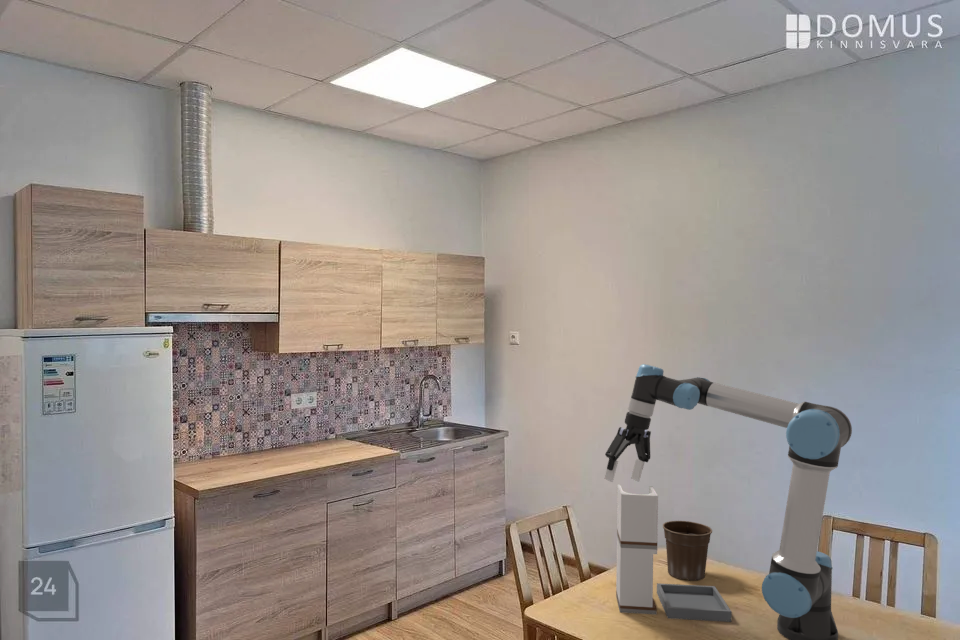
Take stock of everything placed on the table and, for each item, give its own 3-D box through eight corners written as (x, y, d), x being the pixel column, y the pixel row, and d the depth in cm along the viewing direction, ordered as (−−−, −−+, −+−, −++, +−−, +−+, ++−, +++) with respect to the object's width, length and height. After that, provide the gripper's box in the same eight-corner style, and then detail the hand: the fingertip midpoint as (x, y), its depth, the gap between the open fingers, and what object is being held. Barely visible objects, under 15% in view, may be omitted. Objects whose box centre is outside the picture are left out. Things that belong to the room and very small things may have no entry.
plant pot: (681, 562, 234) (682, 517, 234) (721, 576, 221) (722, 529, 221) (652, 571, 225) (652, 525, 225) (691, 587, 212) (692, 538, 212)
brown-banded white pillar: (656, 614, 192) (658, 495, 192) (619, 612, 193) (621, 494, 193) (650, 598, 203) (652, 486, 203) (616, 596, 204) (617, 484, 204)
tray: (714, 595, 206) (714, 586, 206) (731, 621, 188) (731, 611, 188) (656, 592, 207) (656, 583, 207) (667, 618, 189) (667, 608, 189)
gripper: (652, 413, 212) (636, 475, 213) (605, 408, 196) (587, 475, 197) (671, 420, 206) (655, 484, 207) (624, 415, 190) (606, 485, 191)
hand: (622, 480), depth 202 cm, fingers open, 13 cm apart
